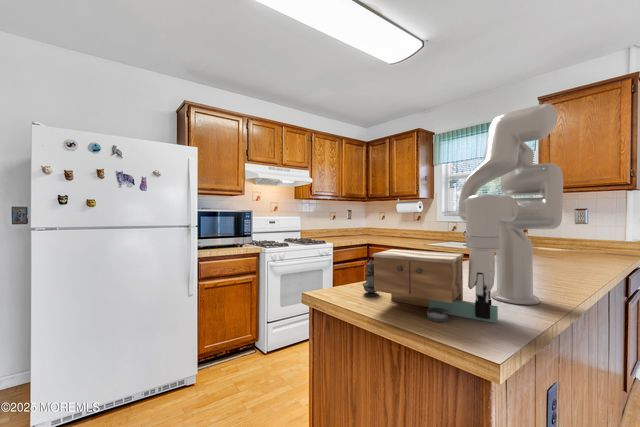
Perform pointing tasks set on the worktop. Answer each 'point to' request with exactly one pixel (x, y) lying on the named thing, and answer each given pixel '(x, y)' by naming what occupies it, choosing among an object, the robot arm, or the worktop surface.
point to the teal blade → (464, 309)
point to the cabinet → (419, 276)
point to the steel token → (437, 315)
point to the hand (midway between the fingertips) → (483, 315)
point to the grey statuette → (370, 281)
